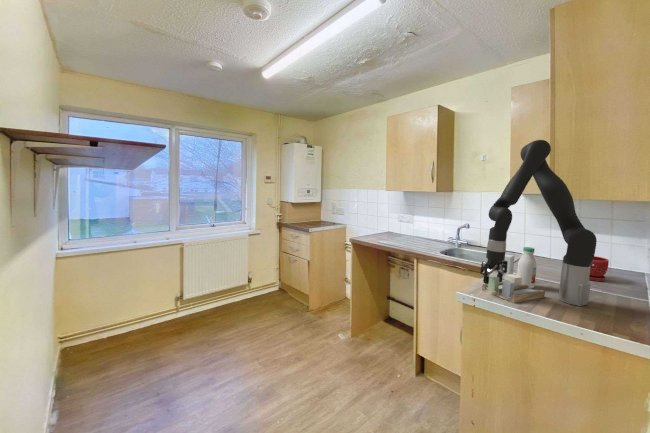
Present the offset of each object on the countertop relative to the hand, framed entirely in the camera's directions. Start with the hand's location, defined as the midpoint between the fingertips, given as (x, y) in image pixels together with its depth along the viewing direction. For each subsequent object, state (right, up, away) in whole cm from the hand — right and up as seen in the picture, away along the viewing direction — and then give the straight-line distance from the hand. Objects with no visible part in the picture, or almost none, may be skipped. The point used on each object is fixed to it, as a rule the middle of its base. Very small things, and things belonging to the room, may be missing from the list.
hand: (492, 282), depth 134 cm
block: (+13, -3, +5) cm, 14 cm away
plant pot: (+68, -3, +24) cm, 73 cm away
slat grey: (+10, -5, -4) cm, 12 cm away
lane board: (+9, -5, 0) cm, 11 cm away
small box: (+19, -3, +22) cm, 29 cm away
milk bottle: (+22, -4, +10) cm, 25 cm away
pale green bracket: (+8, -4, +3) cm, 9 cm away
